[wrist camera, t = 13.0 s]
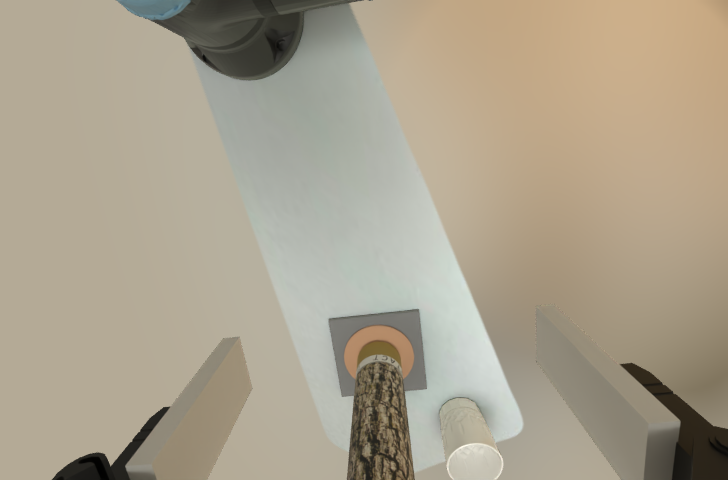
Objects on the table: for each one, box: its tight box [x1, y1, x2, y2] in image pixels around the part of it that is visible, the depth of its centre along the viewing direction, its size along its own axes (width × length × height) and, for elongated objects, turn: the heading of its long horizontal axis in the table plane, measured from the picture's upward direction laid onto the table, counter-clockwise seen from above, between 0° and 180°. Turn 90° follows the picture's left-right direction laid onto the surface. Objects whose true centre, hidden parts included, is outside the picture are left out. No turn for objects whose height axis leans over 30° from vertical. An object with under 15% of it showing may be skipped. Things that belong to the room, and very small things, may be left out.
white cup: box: [439, 398, 503, 480], centre depth 56 cm, size 8×8×10 cm
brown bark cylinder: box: [347, 341, 415, 480], centre depth 45 cm, size 7×7×25 cm
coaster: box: [329, 309, 427, 397], centre depth 57 cm, size 14×14×1 cm
